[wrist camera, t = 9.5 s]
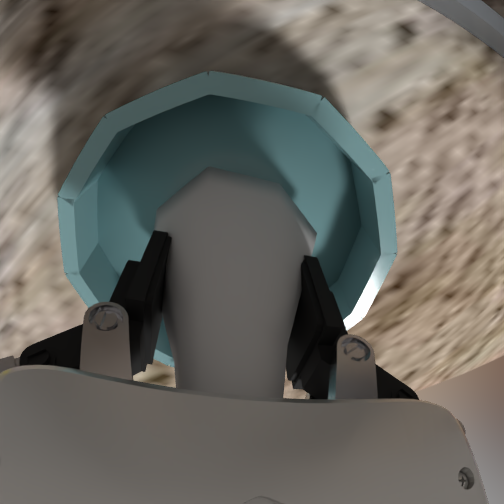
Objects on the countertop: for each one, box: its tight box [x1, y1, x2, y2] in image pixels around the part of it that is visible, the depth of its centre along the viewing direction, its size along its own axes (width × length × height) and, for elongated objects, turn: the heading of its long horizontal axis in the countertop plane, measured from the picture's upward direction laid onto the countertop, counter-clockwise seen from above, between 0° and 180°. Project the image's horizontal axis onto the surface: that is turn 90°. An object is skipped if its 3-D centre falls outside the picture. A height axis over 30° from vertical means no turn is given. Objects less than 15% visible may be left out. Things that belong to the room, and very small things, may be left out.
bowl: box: [57, 71, 397, 367], centre depth 15 cm, size 15×15×4 cm
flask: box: [154, 167, 317, 398], centre depth 10 cm, size 7×7×10 cm
